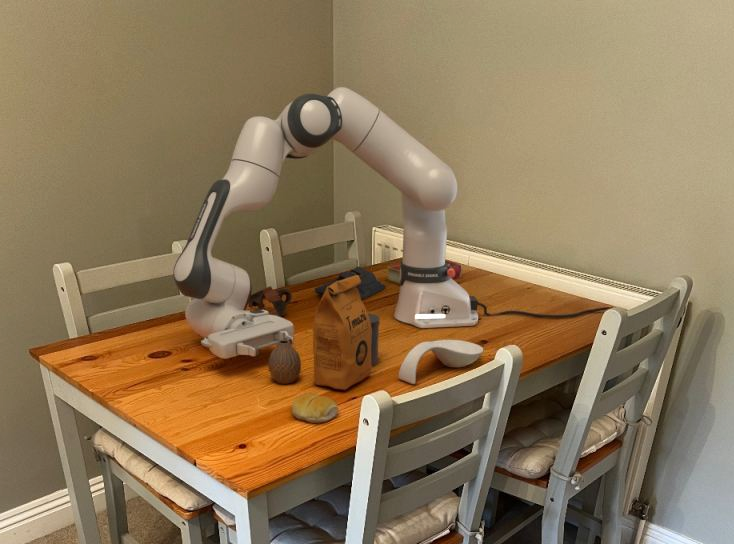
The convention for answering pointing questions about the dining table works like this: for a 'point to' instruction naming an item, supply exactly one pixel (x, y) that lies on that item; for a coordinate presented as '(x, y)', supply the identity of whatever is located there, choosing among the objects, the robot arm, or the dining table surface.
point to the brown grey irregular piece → (271, 300)
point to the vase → (284, 363)
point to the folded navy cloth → (365, 288)
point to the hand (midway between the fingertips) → (274, 347)
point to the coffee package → (341, 336)
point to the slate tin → (374, 337)
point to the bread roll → (314, 408)
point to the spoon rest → (440, 356)
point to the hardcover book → (395, 271)
